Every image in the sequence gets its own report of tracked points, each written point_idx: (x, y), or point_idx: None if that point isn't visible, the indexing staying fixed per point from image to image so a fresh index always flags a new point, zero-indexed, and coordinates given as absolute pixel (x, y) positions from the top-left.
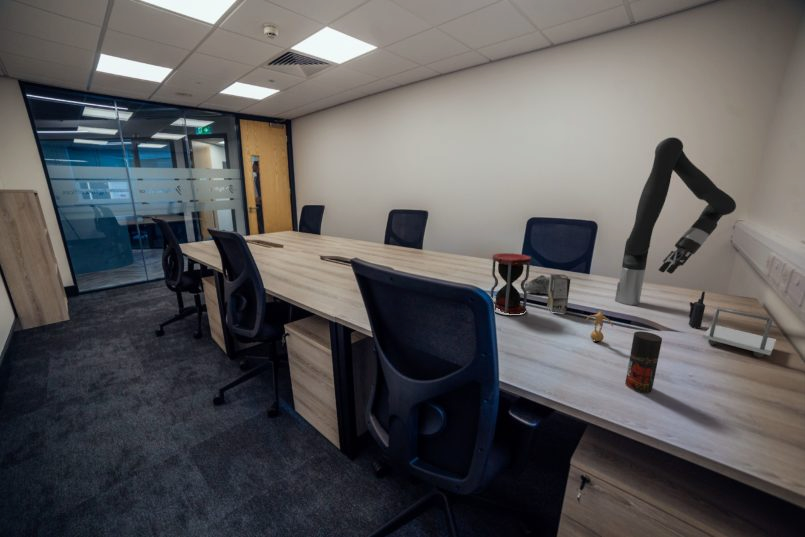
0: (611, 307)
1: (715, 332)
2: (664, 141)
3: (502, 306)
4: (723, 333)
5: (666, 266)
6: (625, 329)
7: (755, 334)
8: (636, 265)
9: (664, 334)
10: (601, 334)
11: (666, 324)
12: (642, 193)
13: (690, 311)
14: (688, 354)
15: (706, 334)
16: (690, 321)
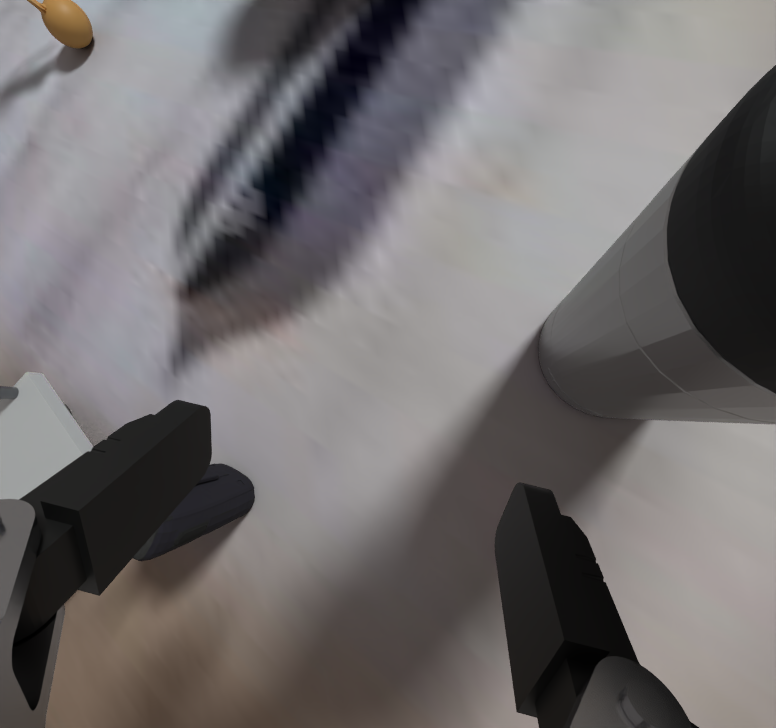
0: (470, 209)
1: (43, 443)
2: None
3: None
4: (35, 470)
5: (525, 645)
6: (181, 166)
7: None
8: (723, 153)
9: (143, 293)
10: (42, 18)
11: (245, 368)
12: None
13: None
14: (9, 279)
15: (27, 386)
16: (214, 468)
